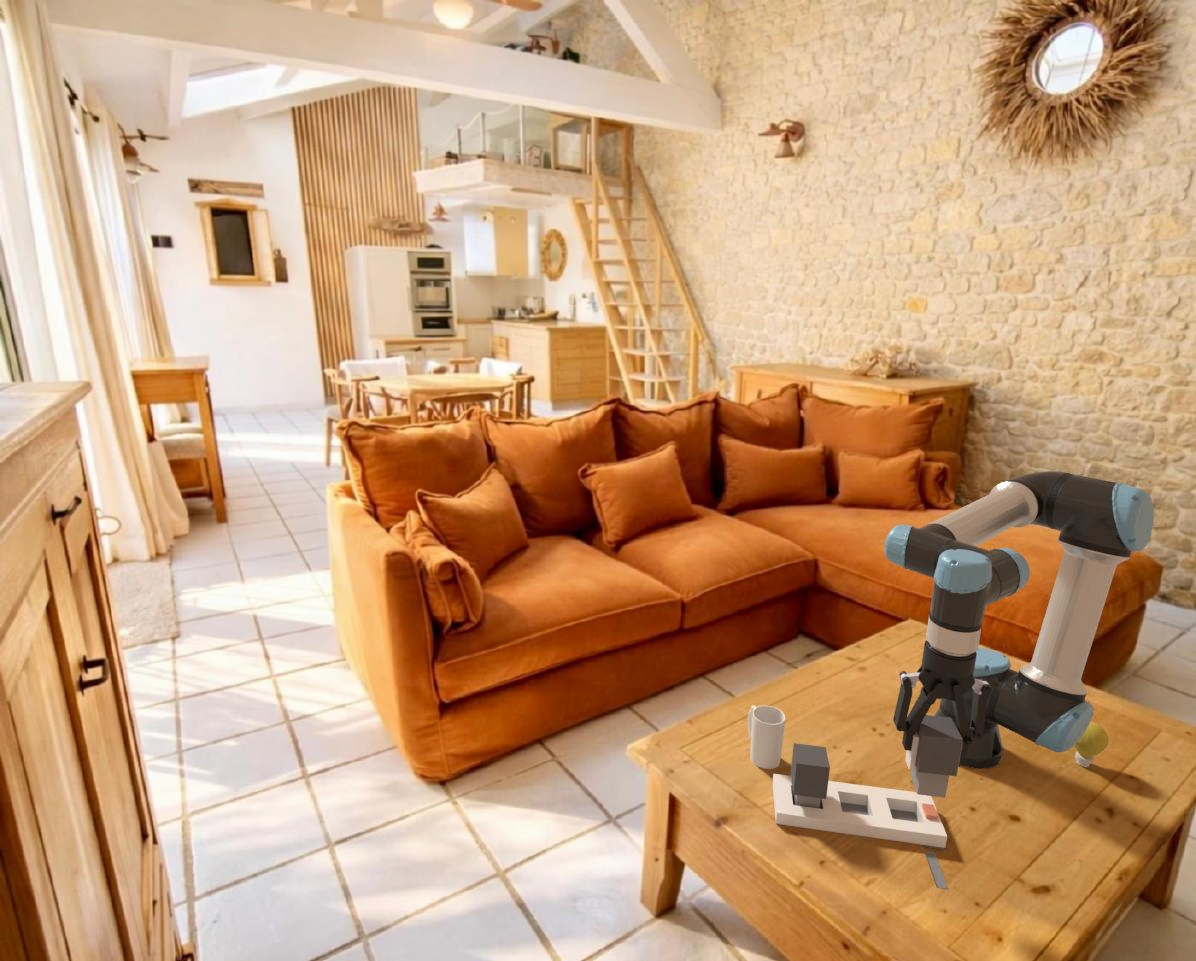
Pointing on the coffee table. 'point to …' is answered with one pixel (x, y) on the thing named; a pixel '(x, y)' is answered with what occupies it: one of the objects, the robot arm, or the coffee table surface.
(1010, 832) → the coffee table surface
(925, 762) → the plug
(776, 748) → the mug
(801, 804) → the twin plug
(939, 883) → the pad
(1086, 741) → the light bulb
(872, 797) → the strip
